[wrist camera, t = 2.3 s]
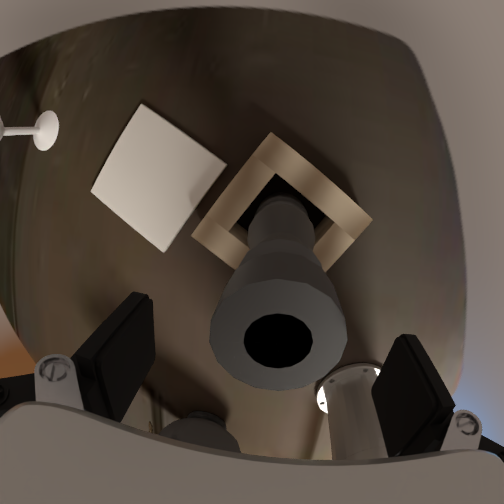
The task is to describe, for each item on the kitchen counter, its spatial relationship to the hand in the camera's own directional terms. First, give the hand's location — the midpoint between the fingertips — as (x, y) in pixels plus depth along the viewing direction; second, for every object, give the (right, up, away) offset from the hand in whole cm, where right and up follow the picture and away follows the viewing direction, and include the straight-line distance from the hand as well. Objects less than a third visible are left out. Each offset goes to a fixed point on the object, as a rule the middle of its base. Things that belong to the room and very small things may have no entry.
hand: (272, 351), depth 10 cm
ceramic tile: (-13, +13, +25) cm, 31 cm away
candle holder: (+3, +8, +25) cm, 26 cm away
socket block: (+3, +8, +25) cm, 26 cm away
